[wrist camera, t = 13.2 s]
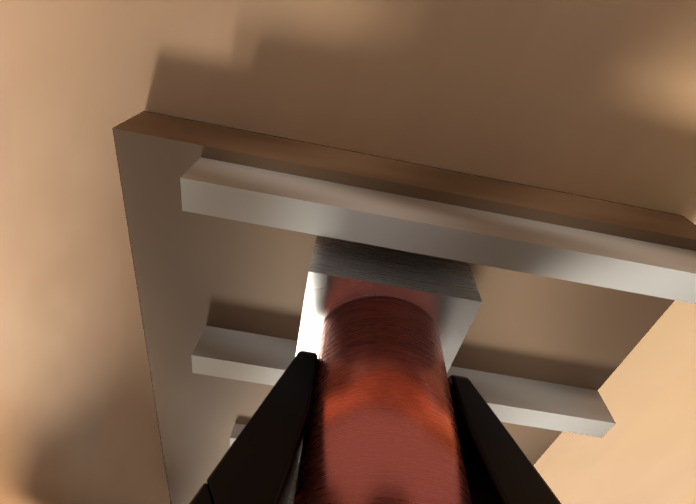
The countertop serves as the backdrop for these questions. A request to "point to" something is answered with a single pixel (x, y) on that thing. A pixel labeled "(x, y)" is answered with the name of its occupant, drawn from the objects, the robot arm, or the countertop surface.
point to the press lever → (383, 375)
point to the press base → (384, 231)
